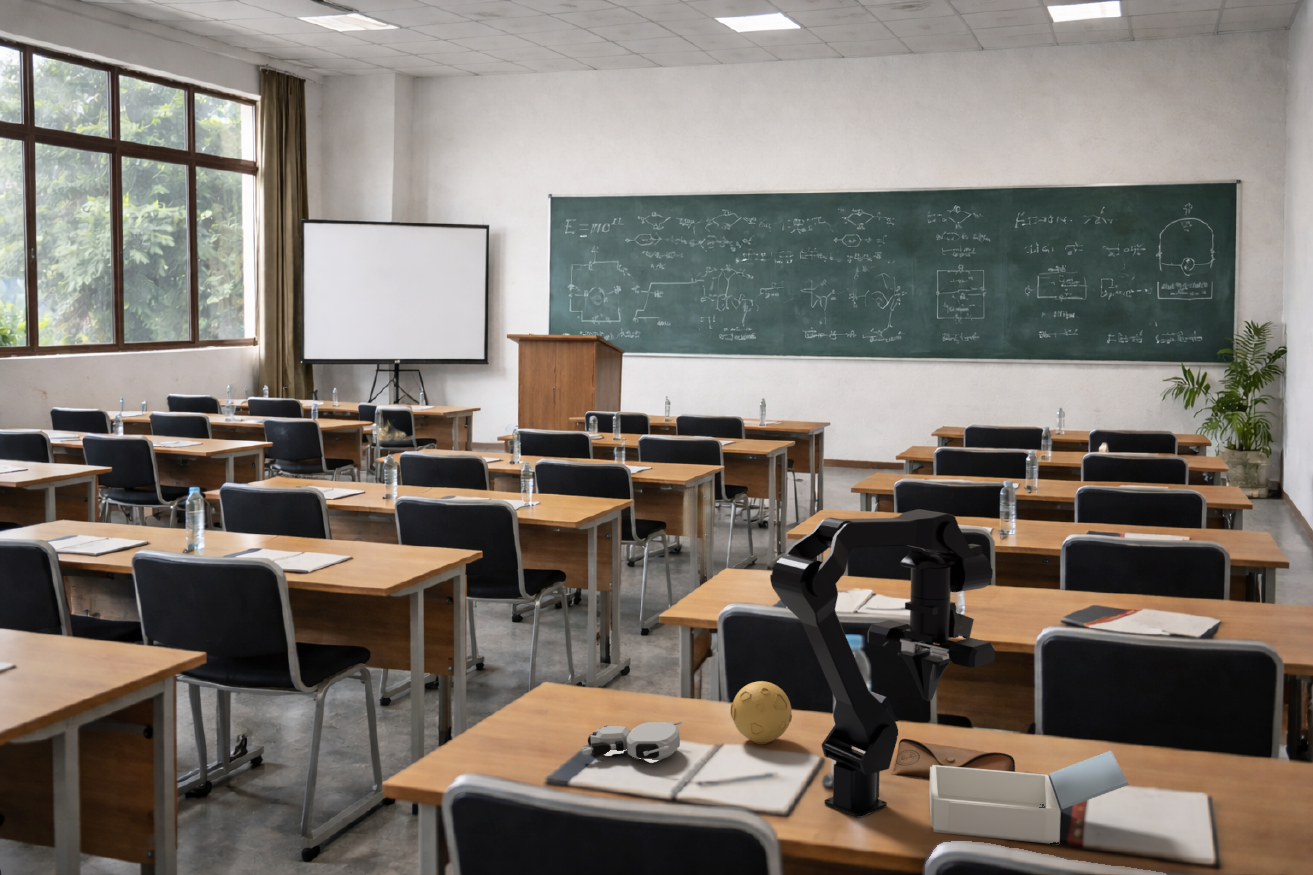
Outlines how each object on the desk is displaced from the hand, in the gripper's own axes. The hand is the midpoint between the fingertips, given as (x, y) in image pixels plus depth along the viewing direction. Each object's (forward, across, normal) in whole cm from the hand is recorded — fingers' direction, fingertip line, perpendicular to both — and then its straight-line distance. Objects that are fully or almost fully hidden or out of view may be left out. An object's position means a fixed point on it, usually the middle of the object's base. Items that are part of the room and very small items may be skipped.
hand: (927, 699), depth 163 cm
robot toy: (+13, +38, +25) cm, 47 cm away
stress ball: (+13, +29, +5) cm, 32 cm away
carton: (+13, -13, +3) cm, 19 cm away
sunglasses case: (+14, 0, -7) cm, 15 cm away
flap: (+8, -19, -2) cm, 21 cm away
